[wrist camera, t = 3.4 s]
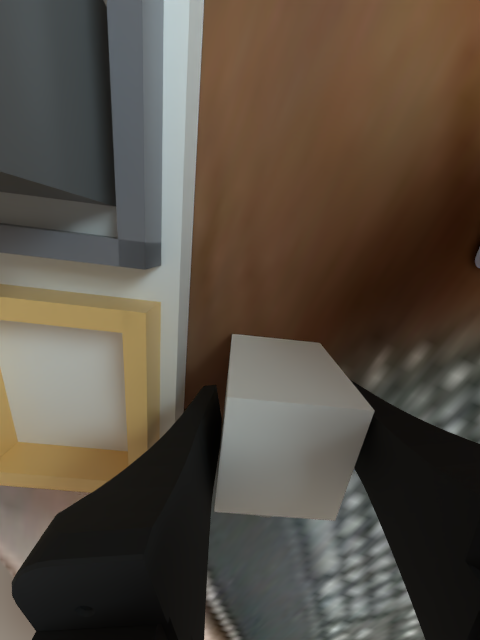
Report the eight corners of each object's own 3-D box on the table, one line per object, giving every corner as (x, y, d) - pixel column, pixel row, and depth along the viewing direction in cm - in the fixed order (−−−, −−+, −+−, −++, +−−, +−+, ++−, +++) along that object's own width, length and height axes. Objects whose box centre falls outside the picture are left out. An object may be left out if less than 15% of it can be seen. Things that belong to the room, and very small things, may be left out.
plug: (319, 342, 12) (374, 410, 7) (295, 442, 14) (325, 547, 9) (232, 333, 12) (226, 396, 7) (220, 436, 14) (211, 539, 9)
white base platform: (207, -72, 7) (179, -345, 4) (181, 457, 14) (163, 523, 11) (-95, -126, 7) (-409, -475, 4) (30, 444, 14) (-37, 508, 10)
